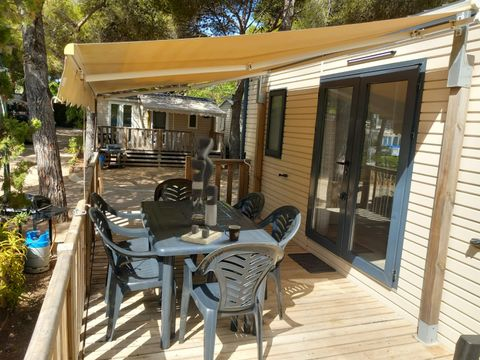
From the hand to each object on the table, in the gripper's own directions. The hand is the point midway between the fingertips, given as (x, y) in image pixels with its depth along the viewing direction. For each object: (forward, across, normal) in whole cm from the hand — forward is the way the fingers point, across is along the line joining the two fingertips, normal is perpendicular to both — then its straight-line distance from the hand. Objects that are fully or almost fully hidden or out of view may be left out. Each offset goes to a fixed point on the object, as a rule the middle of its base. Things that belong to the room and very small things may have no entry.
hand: (196, 210), depth 271 cm
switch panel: (+21, -7, +1) cm, 22 cm away
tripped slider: (+18, -6, -4) cm, 19 cm away
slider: (+18, -1, +8) cm, 20 cm away
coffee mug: (+21, -16, +21) cm, 34 cm away
